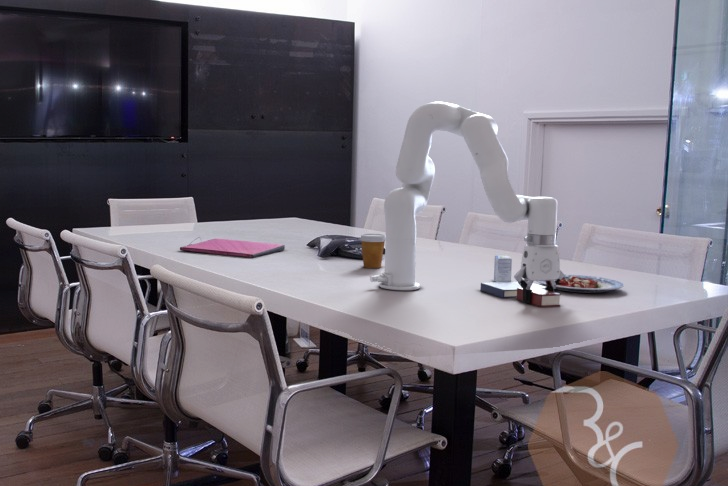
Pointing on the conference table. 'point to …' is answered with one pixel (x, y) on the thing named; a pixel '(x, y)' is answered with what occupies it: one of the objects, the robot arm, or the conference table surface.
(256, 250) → the laptop bag
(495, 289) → the hardback
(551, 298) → the paperback
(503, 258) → the medicine box
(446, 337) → the conference table surface
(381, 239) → the disposable coffee cup
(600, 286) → the ceramic plate
